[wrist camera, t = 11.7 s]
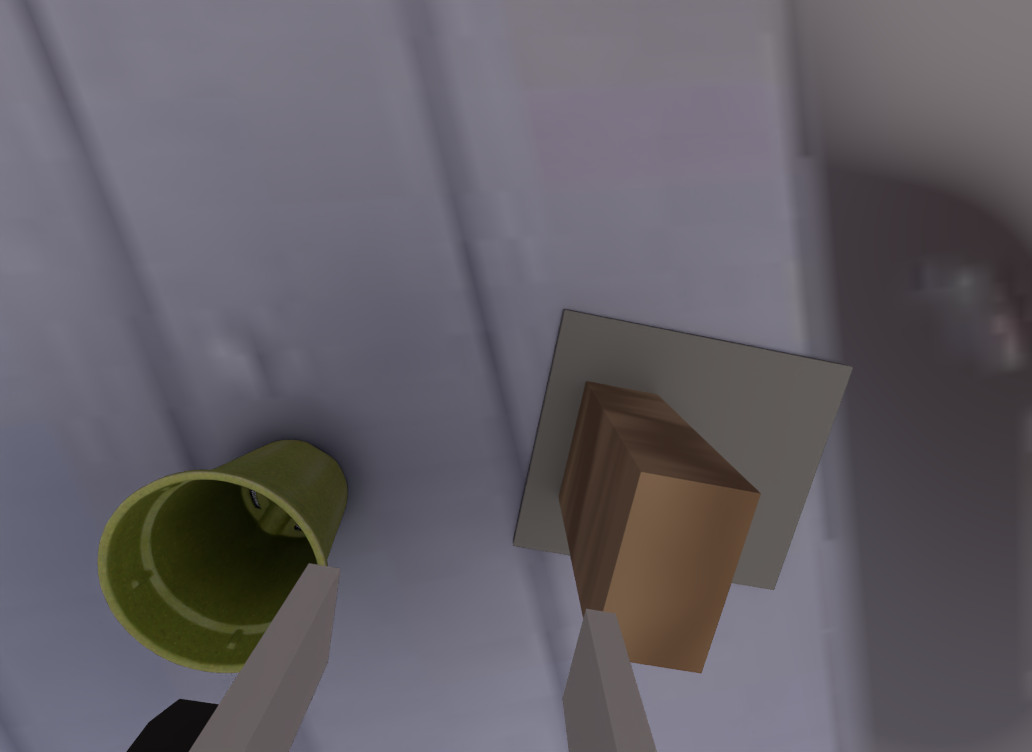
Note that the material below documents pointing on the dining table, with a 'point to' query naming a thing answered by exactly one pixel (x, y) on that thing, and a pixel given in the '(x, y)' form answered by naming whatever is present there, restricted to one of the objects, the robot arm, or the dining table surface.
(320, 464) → the plant pot
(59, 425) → the dining table surface
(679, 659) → the walnut block
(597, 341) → the rubber mat
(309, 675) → the robot arm
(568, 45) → the dining table surface
